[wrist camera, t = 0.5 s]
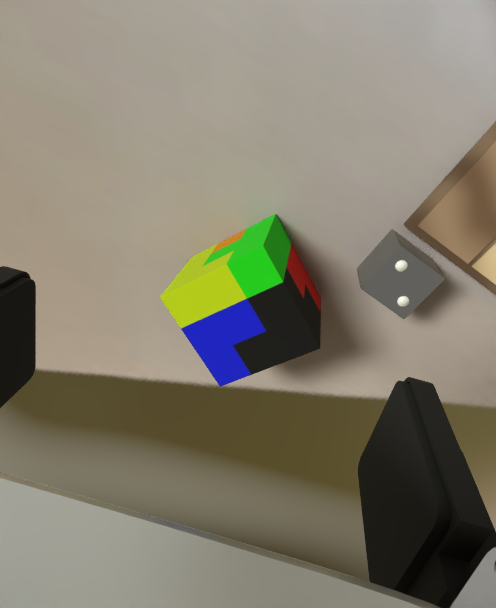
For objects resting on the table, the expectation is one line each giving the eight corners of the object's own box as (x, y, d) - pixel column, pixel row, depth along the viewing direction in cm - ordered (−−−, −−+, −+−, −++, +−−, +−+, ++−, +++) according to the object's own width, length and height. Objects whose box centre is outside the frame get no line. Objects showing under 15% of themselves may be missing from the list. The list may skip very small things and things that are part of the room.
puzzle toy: (239, 332, 48) (220, 386, 39) (192, 257, 45) (159, 296, 36) (320, 297, 45) (320, 348, 36) (275, 213, 41) (263, 245, 33)
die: (391, 228, 40) (400, 245, 36) (432, 259, 41) (445, 279, 36) (356, 268, 43) (360, 288, 38) (395, 296, 43) (404, 319, 39)
